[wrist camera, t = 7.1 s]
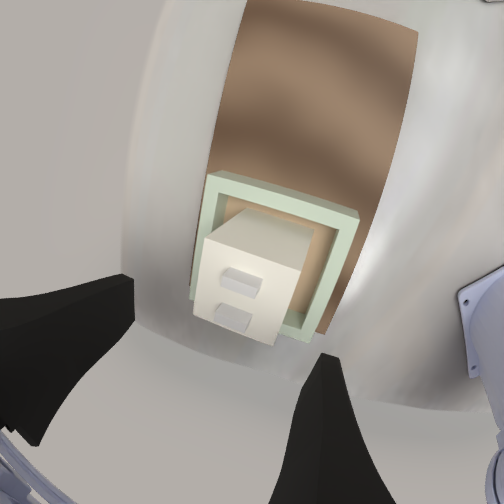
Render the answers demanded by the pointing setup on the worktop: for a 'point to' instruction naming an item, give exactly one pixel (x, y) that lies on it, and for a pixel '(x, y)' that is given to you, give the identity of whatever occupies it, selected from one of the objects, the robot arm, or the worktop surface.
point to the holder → (295, 210)
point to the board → (315, 108)
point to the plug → (251, 273)
